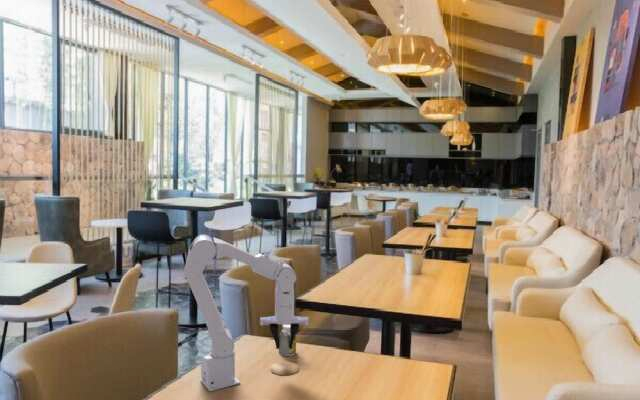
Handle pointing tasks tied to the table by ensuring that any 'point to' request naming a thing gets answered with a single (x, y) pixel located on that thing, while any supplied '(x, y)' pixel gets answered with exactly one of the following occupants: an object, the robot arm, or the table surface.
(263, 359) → the table surface
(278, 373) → the coaster
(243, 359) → the table surface
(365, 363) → the table surface
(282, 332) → the plug
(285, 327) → the supplement bottle
